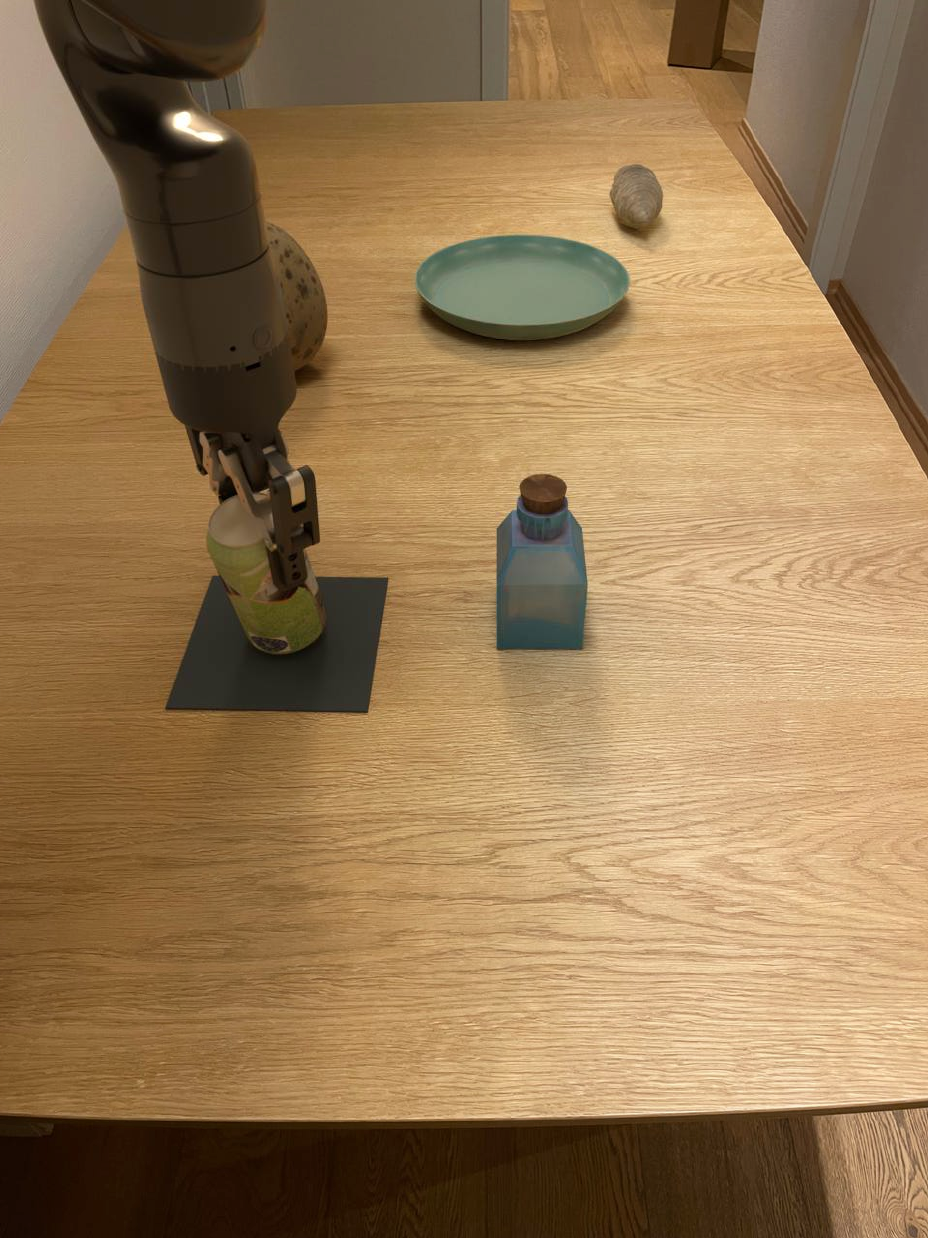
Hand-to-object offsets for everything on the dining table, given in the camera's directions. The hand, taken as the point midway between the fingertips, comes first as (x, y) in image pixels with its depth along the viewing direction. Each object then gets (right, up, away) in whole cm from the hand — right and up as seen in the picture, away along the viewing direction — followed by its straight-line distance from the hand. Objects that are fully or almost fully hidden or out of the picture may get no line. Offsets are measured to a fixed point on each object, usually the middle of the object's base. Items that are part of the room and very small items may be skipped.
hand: (267, 558), depth 66 cm
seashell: (+36, +48, +63) cm, 87 cm away
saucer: (+20, +32, +46) cm, 59 cm away
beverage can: (0, -6, +5) cm, 8 cm away
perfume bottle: (+19, -4, +7) cm, 20 cm away
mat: (0, -6, +5) cm, 8 cm away
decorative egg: (-6, +22, +36) cm, 42 cm away
